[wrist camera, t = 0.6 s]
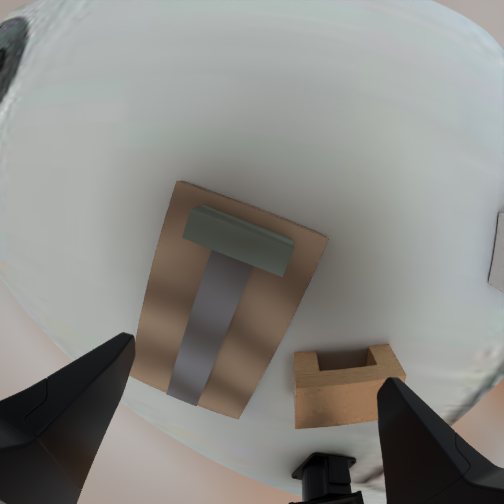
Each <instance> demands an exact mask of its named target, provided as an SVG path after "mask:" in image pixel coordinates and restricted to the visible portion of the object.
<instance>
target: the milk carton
mask: <svg viewBox="0 0 504 504" xmlns="http://www.w3.org/2000/svg"><path fill="white" fill-rule="evenodd" d="M488 283H489V284H491V285H492V286H494V287H495V288H497V289H499V290H500V291H502V292H503V293H504V213H502V212H499V217H498V226H497V235H496V242H495V249H494V255H493V261H492V267H491V272H490V277H489V282H488Z"/></svg>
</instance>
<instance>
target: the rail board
mask: <svg viewBox="0 0 504 504" xmlns="http://www.w3.org/2000/svg"><path fill="white" fill-rule="evenodd" d="M328 240H329V239H328V238H327V236H325V235H323V234H320V233H318V232H315V231H313V230H311V229H308V228H306V227H303V226H301V225H298V224H296V223H293V222H291V221H288V220H286V219H283V218H281V217H278V216H276V215H273V214H270V213H268V212H265V211H263V210H260V209H257V208H255V207H252V206H250V205H247V204H244V203H242V202H239V201H236V200H234V199H231V198H228V197H226V196H223V195H220V194H217V193H215V192H212V191H209V190H206V189H204V188H201V187H198V186H195V185H192V184H190V183H187V182H184V181H177V182H176V185H175V188H174V191H173V194H172V198H171V201H170V204H169V207H168V210H167V214H166V217H165V220H164V224H163V227H162V231H161V234H160V238H159V242H158V245H157V249H156V253H155V256H154V260H153V264H152V268H151V272H150V276H149V280H148V284H147V289H146V293H145V297H144V302H143V306H142V311H141V316H140V320H139V325H138V330H137V335H136V341H135V351H136V354H135V359H134V362H133V365H132V368H131V371H130V376H131V377H133V378H135V379H137V380H139V381H141V382H143V383H146V384H148V385H150V386H152V387H154V388H157V389H159V390H161V391H163V392H166V394H167V395H170V396H172V397H174V398H177V399H179V400H182V401H184V402H187V403H189V404H192V405H195V406H197V405H198V406H201V407H203V408H206V409H209V410H212V411H214V412H217V413H220V414H223V415H226V416H229V417H232V418H235V419H239V417H240V416H241V414H242V412H243V410H244V409H245V407H246V405H247V403H248V402H249V400H250V398H251V396H252V394H253V393H254V391H255V389H256V387H257V385H258V384H259V382H260V380H261V378H262V376H263V374H264V372H265V371H266V369H267V367H268V365H269V363H270V361H271V359H272V357H273V355H274V353H275V352H276V350H277V348H278V346H279V344H280V342H281V340H282V338H283V336H284V334H285V332H286V330H287V328H288V326H289V324H290V322H291V320H292V318H293V316H294V314H295V312H296V310H297V308H298V305H299V303H300V301H301V299H302V297H303V295H304V293H305V291H306V289H307V287H308V284H309V282H310V280H311V278H312V276H313V274H314V271H315V269H316V267H317V265H318V262H319V260H320V258H321V256H322V254H323V251H324V249H325V247H326V244H327V242H328Z"/></svg>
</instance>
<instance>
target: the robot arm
mask: <svg viewBox="0 0 504 504" xmlns="http://www.w3.org/2000/svg"><path fill="white" fill-rule="evenodd" d="M135 354H136V351H135V338H134V336H133V335H131V334H128V333H125V332H123V333H120V334H118V335H117V336H115V337H113V338H112V339H110V340H108V341H107V342H105V343H103V344H102V345H100V346H98V347H97V348H95V349H93V350H92V351H90V352H88V353H87V354H85V355H83V356H82V357H80V358H78V359H77V360H75V361H73V362H72V363H70V364H68V365H67V366H65V367H63V368H62V369H60V370H58V371H56V372H55V373H53V374H51V375H50V376H48V377H47V378H45V379H43V380H41V381H40V382H38V383H36V384H34V385H32V386H31V387H29V388H27V389H25V390H23V391H21V392H19V393H17V394H15V395H12V396H10V397H8V398H5V399H3V400H1V401H0V504H77V501H78V499H79V496H80V493H81V491H82V490H81V489H82V488H83V485H84V483H85V480H86V478H87V475H88V473H89V470H90V468H91V465H92V463H93V461H94V458H95V456H96V454H97V451H98V449H99V446H100V444H101V442H102V439H103V437H104V435H105V433H106V430H107V428H108V426H109V424H110V421H111V419H112V417H113V415H114V412H115V410H116V408H117V406H118V404H119V402H120V400H121V397H122V395H123V392H124V389H125V386H126V383H127V380H128V377H129V374H130V371H131V368H132V365H133V362H134V359H135ZM377 410H378V428H379V437H380V444H381V451H382V459H383V468H384V477H385V487H386V498H387V504H504V468H500V467H497V466H495V465H494V464H493V463H491V462H490V461H489V460H488V459H486V458H485V457H484V456H482V455H481V454H480V453H479V452H478V451H476V450H475V449H474V448H473V447H472V446H470V445H469V444H468V443H467V442H466V441H465V440H464V439H463V438H462V437H460V436H459V435H458V434H457V433H456V432H455V431H454V430H453V429H452V428H451V427H450V426H449V425H448V424H447V423H446V422H445V421H444V420H443V419H442V418H441V417H440V416H438V415H437V414H436V413H435V412H434V411H433V410H432V409H431V408H430V407H429V406H428V405H427V404H426V403H425V402H424V401H423V400H422V399H421V398H420V397H418V396H417V395H416V394H415V393H414V392H413V391H412V390H411V389H410V388H409V387H408V386H407V385H406V384H405V383H404V382H403V381H402V380H400V379H399V378H398V377H388V378H387V379H386V380H385V382H384V383H383V385H382V386H381V387H380V389H379V390H378V392H377ZM355 463H356V459H355V458H348V457H340V456H333V455H326V454H320V453H314V454H312V455H311V456H310V457H309V458H308V459H307V460H306V461H305V462H304V463H303V464H302V465H301V466H300V467H299V468H298V469H297V470H296V471H295V472H294V473H293V474H292V478H293V479H299V480H302V502H296V503H294V502H290V503H289V504H364V502H363V497H362V493H361V491H357V492H355V493H352V492H351V485H350V483H351V478H350V472H349V468H350V467H352V466H353V465H354V464H355Z"/></svg>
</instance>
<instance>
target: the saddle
mask: <svg viewBox="0 0 504 504" xmlns="http://www.w3.org/2000/svg"><path fill="white" fill-rule="evenodd" d="M388 377H398V378H399V379H400V380H402V381H403V382H404V383H405V379H406V374H405V372H404V370H403V368H402V366H401V365H400V363H399V361H398V359H397V358H396V356H395V354H394V352H393V351H392V349H391V347H390V345H389V344H384V345H376V346H369V350H368V357H367V364H366V366H365V367H357V368H348V369H338V370H327V371H319V366H318V360H317V355H316V351H313V352H296V353H294V409H295V429H303V428H317V427H329V426H338V425H347V424H355V423H362V422H368V421H374V420H378V410H377V392H378V390H379V389H380V387H381V386H382V385H383V383H384V382H385V380H386V379H387V378H388Z"/></svg>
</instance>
